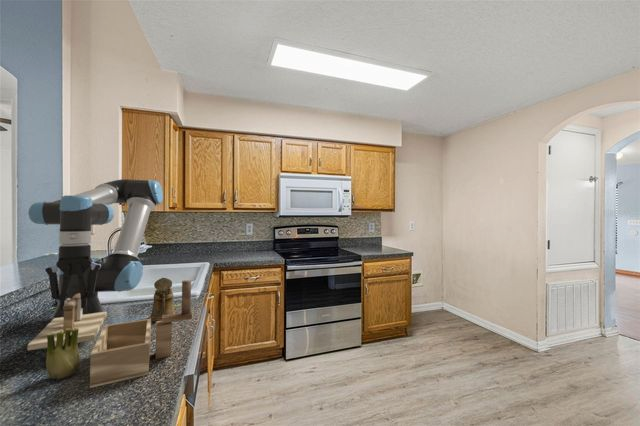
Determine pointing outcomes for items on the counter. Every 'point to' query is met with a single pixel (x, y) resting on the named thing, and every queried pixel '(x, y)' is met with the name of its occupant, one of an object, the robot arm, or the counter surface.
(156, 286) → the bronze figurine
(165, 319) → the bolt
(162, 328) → the toolbox
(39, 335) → the lid
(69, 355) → the fennel bulb
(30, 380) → the counter surface
